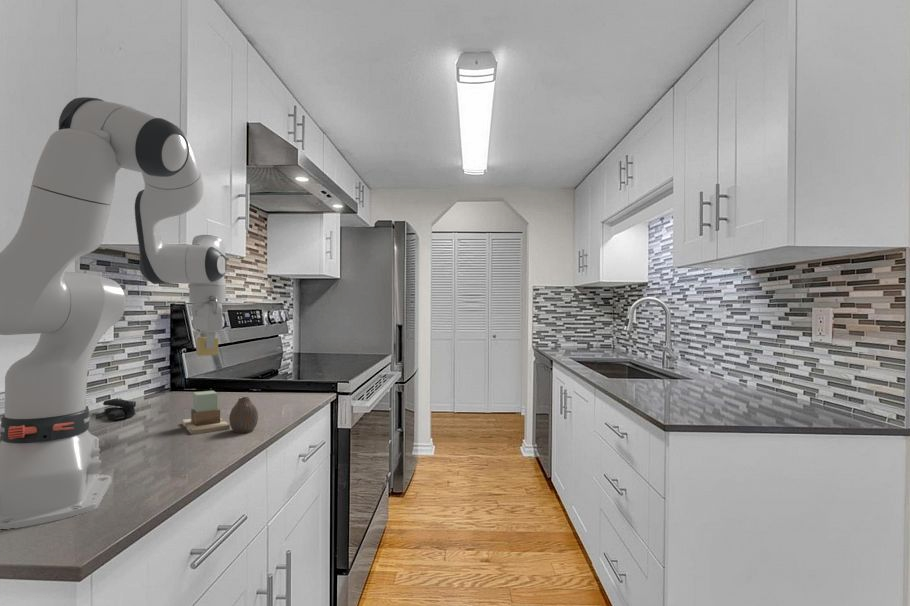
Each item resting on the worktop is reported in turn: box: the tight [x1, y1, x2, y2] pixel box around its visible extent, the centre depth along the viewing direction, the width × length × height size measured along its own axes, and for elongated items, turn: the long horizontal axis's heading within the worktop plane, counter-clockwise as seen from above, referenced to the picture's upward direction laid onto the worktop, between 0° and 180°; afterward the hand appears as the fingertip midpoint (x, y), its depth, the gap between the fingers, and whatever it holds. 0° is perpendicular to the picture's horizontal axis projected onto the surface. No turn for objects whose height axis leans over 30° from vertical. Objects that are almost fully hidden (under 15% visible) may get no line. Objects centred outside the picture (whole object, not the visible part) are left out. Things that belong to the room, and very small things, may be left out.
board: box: [181, 417, 231, 435], centre depth 134 cm, size 14×9×1 cm, turn 37°
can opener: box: [102, 397, 137, 421], centre depth 147 cm, size 18×7×6 cm, turn 50°
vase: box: [228, 396, 259, 434], centre depth 130 cm, size 7×7×9 cm
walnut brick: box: [190, 407, 221, 426], centre depth 134 cm, size 6×6×4 cm
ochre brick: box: [195, 336, 219, 357], centre depth 134 cm, size 4×4×4 cm
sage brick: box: [192, 390, 218, 412], centre depth 134 cm, size 5×5×4 cm
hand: (207, 347), depth 134 cm, fingers closed on ochre brick, 4 cm apart
